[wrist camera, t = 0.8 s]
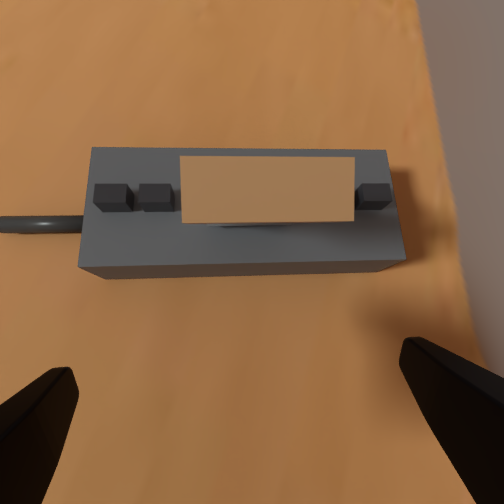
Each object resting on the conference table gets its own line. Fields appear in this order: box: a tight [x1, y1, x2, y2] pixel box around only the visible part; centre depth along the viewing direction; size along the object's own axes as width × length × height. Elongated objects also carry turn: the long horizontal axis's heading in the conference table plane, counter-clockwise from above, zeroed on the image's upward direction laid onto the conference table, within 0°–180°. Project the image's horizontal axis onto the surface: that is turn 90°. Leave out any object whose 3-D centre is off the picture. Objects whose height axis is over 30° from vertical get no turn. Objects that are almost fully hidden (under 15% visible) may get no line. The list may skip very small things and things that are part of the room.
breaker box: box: [0, 147, 406, 279], centre depth 20 cm, size 8×28×5 cm, turn 92°
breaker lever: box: [180, 156, 355, 226], centre depth 14 cm, size 2×5×9 cm, turn 92°
